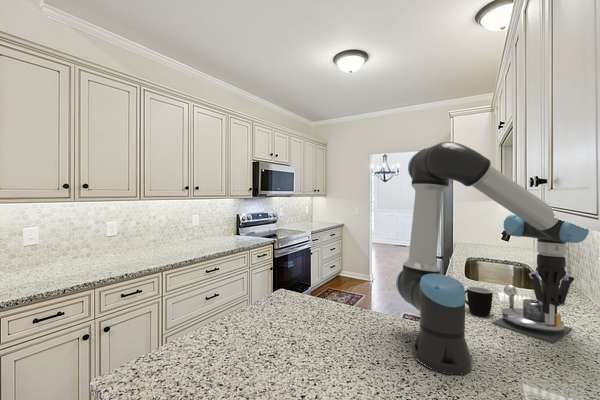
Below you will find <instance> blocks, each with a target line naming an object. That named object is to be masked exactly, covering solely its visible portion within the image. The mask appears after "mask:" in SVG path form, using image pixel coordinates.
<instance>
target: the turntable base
mask: <svg viewBox="0 0 600 400" xmlns="http://www.w3.org/2000/svg"><path fill="white" fill-rule="evenodd" d="M491 325H493V326H498V327H500V328H503V329H506V330H510V331H512V332H515V333H519V334H522V335H524V336H528V337H530V338H534V339H537V340H540V341H544V342H545V343H546V342H547V343H549V344H555V343H556V342H558V340H560V339H562V338H563V337H564V336H566V335H567V334H568V333H570V332H571V331H572V330H573V328H572V327H569V326H566V325H564V330H562V331H557V332H549V331H540V330H534V329H530V328H526V327H522V326H519V325H516V324H514V323H511V322H509V321H507V320H506V319H504V318H503V317H501V318H498V319H497V320H495V321H494V320H493V321H492V323H491Z"/></svg>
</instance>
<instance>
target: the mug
mask: <svg viewBox="0 0 600 400" xmlns="http://www.w3.org/2000/svg"><path fill="white" fill-rule="evenodd" d="M466 294H467V295H466ZM465 295H466V301H465V305H467V306H468V309H469V312H470V313H471V315H473V316H476V317H481V318H482V317H483V318H487V317H489V316H490V314H491V311H492V306H493V305H492V304H493V290H491V289H489V288H487V287H481V286H467V288H466V290H465Z"/></svg>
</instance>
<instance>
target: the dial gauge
mask: <svg viewBox="0 0 600 400" xmlns="http://www.w3.org/2000/svg"><path fill="white" fill-rule="evenodd" d="M503 292H504V293H505V295H506V296H508V299H509V300H508V301H509V303H508V308H515V296H517V293H518V290H517V288H516V287H515V286H514V285H512V284H509V285H505V286H504V288H503Z"/></svg>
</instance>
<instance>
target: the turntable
mask: <svg viewBox="0 0 600 400" xmlns="http://www.w3.org/2000/svg"><path fill="white" fill-rule="evenodd" d="M501 316H502V317H501V318H504V319H506V320H507V321H509V322H511V323H514V324H516V325H519V326H522V327H526V328H530V329H534V330H540V331H549V332H557V331H562V330H564V326H565V323H564V321H563V320H562V314H559V313H557V314H555V315H554V325H551V324H548V323H547V322H546V323H541V322H535V321H531V320H528V319H526V318H524V317H523V308H518V307H514V308H509V307H507V308H504V309H502V310H501Z"/></svg>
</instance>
